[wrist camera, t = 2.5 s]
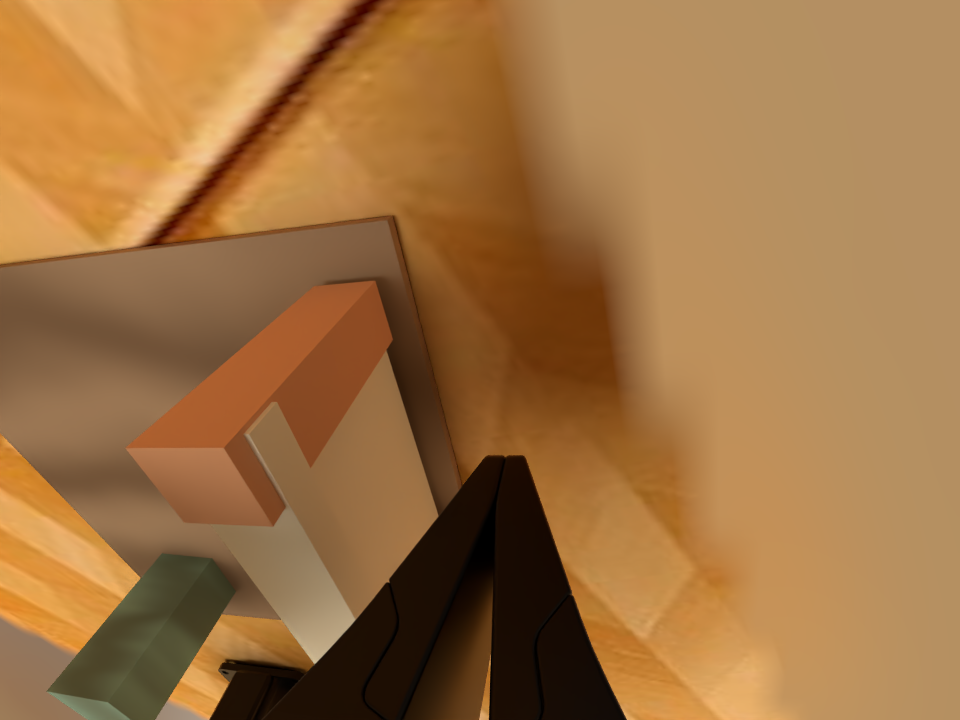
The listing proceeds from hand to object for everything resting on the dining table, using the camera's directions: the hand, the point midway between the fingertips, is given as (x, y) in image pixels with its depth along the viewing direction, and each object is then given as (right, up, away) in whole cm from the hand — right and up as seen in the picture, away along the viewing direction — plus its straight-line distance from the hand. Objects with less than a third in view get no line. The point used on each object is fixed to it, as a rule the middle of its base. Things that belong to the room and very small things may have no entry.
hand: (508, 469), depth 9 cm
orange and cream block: (-3, -2, +6) cm, 7 cm away
